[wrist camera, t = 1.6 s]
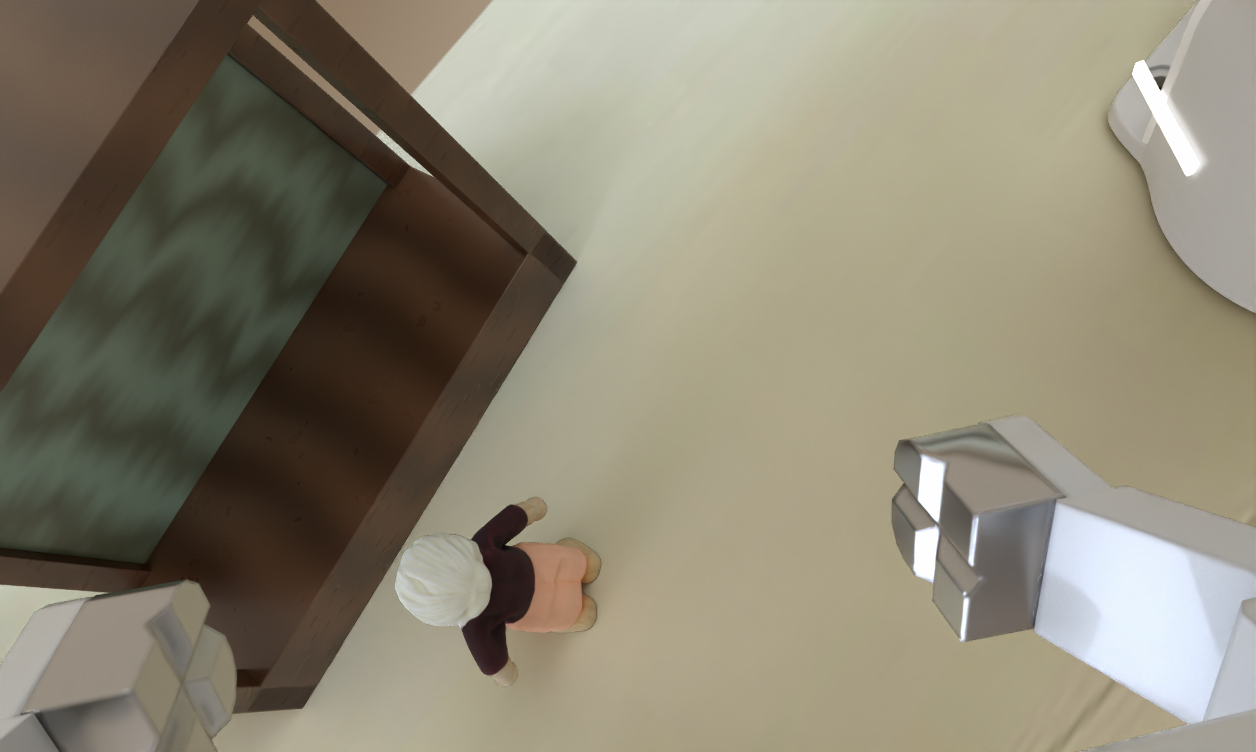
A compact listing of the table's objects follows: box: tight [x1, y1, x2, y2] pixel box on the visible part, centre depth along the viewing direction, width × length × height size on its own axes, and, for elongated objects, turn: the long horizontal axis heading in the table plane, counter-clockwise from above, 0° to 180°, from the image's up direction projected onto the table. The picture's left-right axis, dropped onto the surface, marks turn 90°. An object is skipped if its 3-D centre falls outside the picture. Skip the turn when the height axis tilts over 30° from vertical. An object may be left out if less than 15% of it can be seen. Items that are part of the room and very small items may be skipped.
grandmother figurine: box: [395, 497, 601, 687], centre depth 35 cm, size 8×4×13 cm, turn 4°
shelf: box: [0, 0, 577, 714], centre depth 37 cm, size 28×12×24 cm, turn 147°
